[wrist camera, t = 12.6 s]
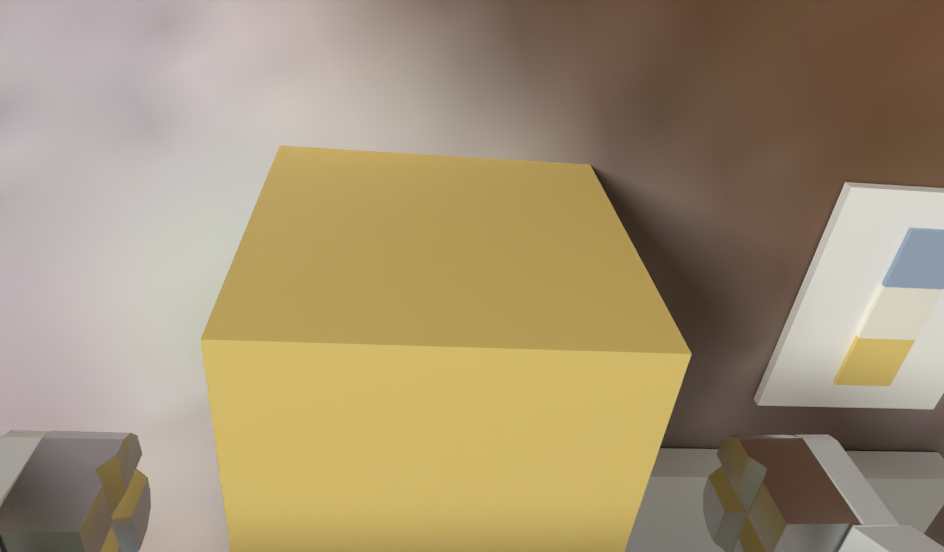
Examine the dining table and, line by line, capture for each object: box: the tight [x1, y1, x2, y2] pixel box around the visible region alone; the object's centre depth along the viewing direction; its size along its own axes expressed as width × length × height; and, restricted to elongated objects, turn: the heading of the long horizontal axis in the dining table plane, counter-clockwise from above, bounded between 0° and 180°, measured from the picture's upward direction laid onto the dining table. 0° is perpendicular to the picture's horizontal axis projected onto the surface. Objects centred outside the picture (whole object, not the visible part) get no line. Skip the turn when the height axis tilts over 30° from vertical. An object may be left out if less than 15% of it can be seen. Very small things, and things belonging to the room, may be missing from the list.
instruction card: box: [754, 182, 944, 409], centre depth 13 cm, size 5×4×1 cm
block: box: [201, 146, 692, 552], centre depth 10 cm, size 5×5×5 cm
